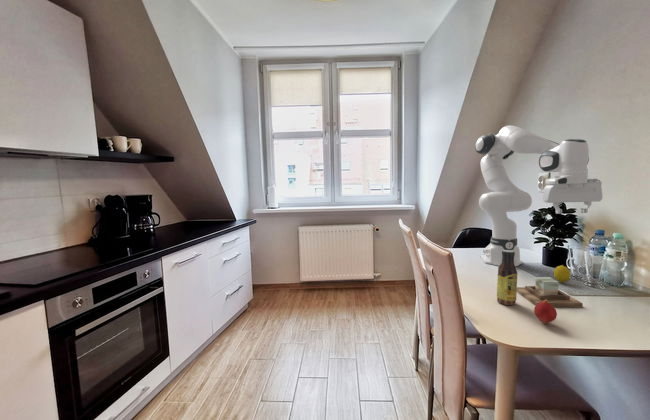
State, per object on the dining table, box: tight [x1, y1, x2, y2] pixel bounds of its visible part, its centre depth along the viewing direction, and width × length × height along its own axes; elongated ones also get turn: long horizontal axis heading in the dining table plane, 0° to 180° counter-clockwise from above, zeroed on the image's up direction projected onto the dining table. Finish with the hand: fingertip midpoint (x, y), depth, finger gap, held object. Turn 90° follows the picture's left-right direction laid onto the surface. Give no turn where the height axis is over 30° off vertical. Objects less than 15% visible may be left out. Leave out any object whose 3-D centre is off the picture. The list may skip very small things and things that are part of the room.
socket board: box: [517, 285, 583, 308], centre depth 110 cm, size 15×15×3 cm
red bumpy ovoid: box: [533, 300, 558, 325], centre depth 92 cm, size 6×6×8 cm
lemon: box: [553, 264, 571, 284], centre depth 125 cm, size 6×6×8 cm
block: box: [535, 276, 559, 295], centre depth 110 cm, size 5×5×6 cm
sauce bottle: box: [496, 250, 518, 306], centre depth 108 cm, size 7×6×20 cm
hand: (571, 213), depth 118 cm, fingers open, 8 cm apart
